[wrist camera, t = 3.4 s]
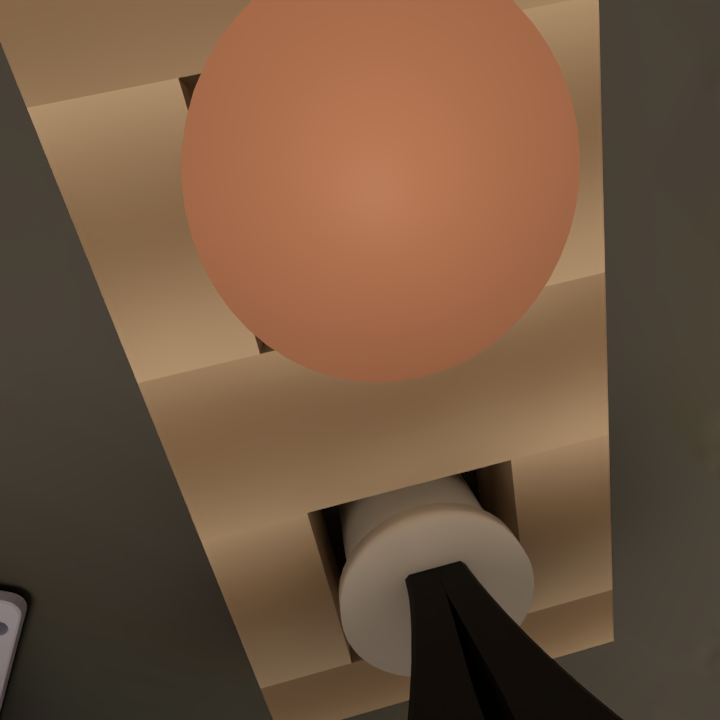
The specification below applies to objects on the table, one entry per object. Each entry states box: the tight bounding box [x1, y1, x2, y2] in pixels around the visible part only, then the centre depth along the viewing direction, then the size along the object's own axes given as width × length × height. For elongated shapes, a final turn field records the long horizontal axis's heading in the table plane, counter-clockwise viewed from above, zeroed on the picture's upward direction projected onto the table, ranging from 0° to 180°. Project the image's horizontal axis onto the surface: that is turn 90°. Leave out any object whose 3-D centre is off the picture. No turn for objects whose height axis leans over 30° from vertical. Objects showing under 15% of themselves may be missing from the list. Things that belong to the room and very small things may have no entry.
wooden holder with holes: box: [0, 0, 614, 720], centre depth 12 cm, size 18×10×3 cm, turn 12°
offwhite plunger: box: [339, 473, 534, 677], centre depth 12 cm, size 5×5×4 cm
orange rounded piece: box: [181, 0, 580, 383], centre depth 7 cm, size 5×5×4 cm
